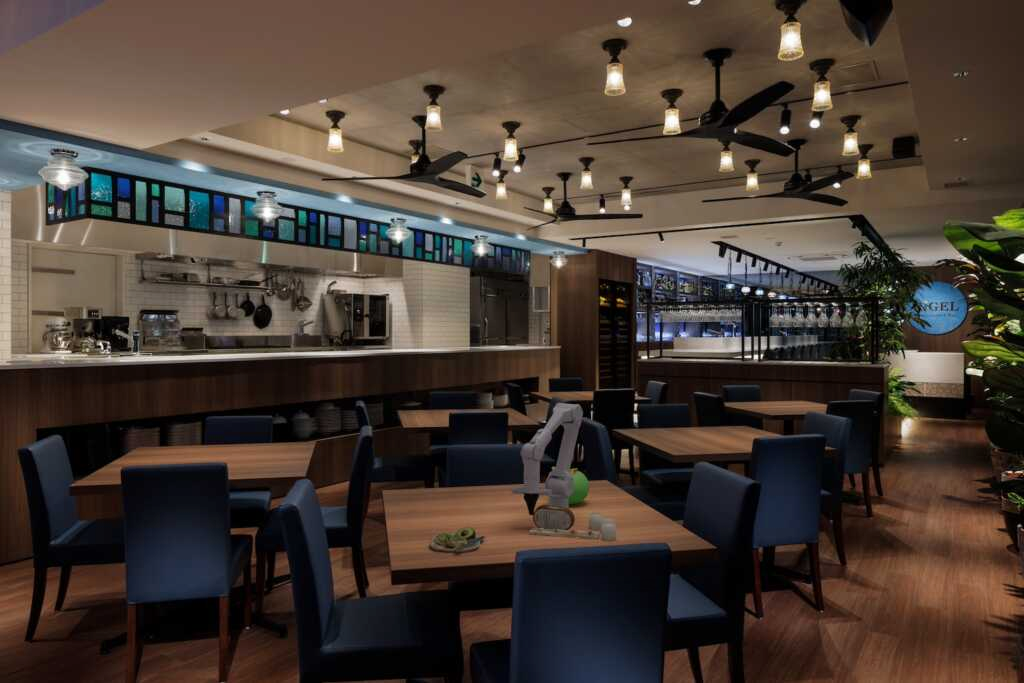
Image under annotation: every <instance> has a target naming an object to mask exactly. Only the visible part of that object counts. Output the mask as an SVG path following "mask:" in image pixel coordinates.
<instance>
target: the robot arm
mask: <svg viewBox="0 0 1024 683" xmlns="http://www.w3.org/2000/svg"><path fill="white" fill-rule="evenodd" d="M583 411H584V410H583V408H582V407H581V405H580V404H578V403H576V404H575V403H574V404H573V403H563V402H557V403H556V404H555V406H554V407H553V409H552V415H551V417H550V418H549V419H548V421H547V423H546V425H545V426H544V428H540V429H538V430H537V432H536V433H535V434H534V436H533V437H532V439H531V440H530V441H529V442H527V443H525V444H524V445H523V446H522V447H521V450H520V456H521V459H522V463H523V487H512V488H511V494H512V495H515V494H519V495H523V499H524V502H525V504H526V507H527V511H528V515H529V516H533V514H534V512H535V507H536V504H537V502H538V500H539V498H540V496H548V497H549V504H548V506H558V507H566V508H568V509H570V508H569V506H570V504H569V500H568V499H569V497H570V495H571V494H572V492H573V481H574V478H573V476H572V475H571V474H570V473H569V470H570V469H571V465H572V460H573V456H574V451H575V447H576V442H577V439H578V435H579V432H580V431H579V430H580V427H581V425H582V420H583V415H584V412H583ZM560 425H561V426H563V429H564V431H563V435H562V439H561V443H560V448H559V452H558V456H557V461H556V466H555V467H556V468H555V469H554V470H551V471H550V472H548V478H547V477H546V480H545V482H544V488H541V487H540V483H541V482H540V479H541V478H540V477H541V476H540V474H541V473H540V471H541V459H542V458H543V457H544V453H545V450H546V447H547V446H548V444H550V442H551V440H552V439H553V438H552V435H553V434H554V432H555V431H556V430H557V429H558V427H559V426H560ZM560 478H564V479H560Z"/></svg>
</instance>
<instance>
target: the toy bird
mask: <svg viewBox="0 0 1024 683" xmlns="http://www.w3.org/2000/svg"><path fill="white" fill-rule="evenodd" d="M555 468H556V466H552V467H551V471H553V470H554V469H555ZM569 473H570V474H571V475H572V476H573V478H574V481H573V492H572V494H571V495H570V497H569V499H568V500H569V505H575V504H579V503H580V502H582V501H584V500H585V499H587V497H588V494H589V492H590V485H589V481H588V478H587V476H586V475H585V474H584V473H583V472H582V471H579V470H578V468H570V470H569ZM547 478H548V477H546V479H547ZM560 479H564V478H560Z"/></svg>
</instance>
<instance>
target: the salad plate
mask: <svg viewBox="0 0 1024 683" xmlns="http://www.w3.org/2000/svg"><path fill="white" fill-rule="evenodd" d="M485 538H486V536H484V535H481V536H479V535H477V534H476V530H475V529H474V528H473V527H470V526H469V527H468V526H467V527H463V528H460V529H459V530H457V531H456V533H445V532H444V533H439V534H436V535H434V536H432V537H431V539H430V540H431V541H430V542H429V543H430V544H429V545H430V547H431V548H432V549H433V550H435V551H437V552H440V553H441V552H442V553H465V552H466V553H467V552H470V551H473V550H476V549H479V547H480V545H481V542H482V541H483V540H485ZM438 545H440V546H445V547H448V548H443V547H439V546H438Z"/></svg>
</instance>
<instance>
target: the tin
mask: <svg viewBox="0 0 1024 683" xmlns="http://www.w3.org/2000/svg"><path fill="white" fill-rule="evenodd" d="M532 519H533V523H534V525H535V526H536V528H544V529H561V530H571V529H572V527H573V526H574V525H575V521H576V519H575V514H574V513H573V511H572V510H571V509H570V508H569V509H568V508H566V507H558V506H549V504H547V505H546V504H542V505H539V506H538V507H537V508H536V509H534V514H533V515H532Z"/></svg>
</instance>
